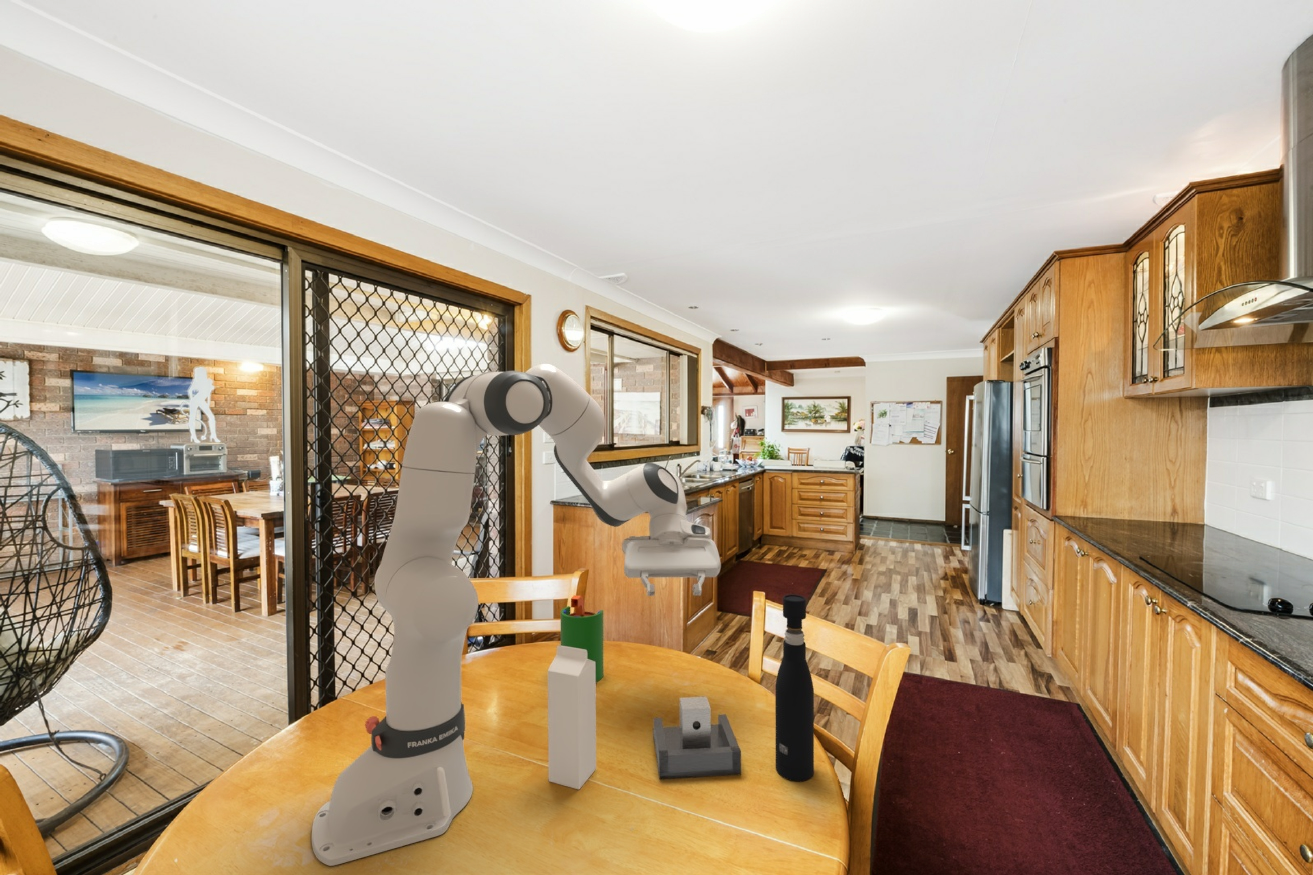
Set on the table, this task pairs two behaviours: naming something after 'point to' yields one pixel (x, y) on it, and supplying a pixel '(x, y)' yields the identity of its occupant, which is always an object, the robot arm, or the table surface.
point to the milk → (571, 717)
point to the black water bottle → (794, 699)
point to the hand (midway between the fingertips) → (674, 594)
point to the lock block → (695, 723)
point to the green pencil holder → (583, 632)
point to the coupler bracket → (696, 752)
